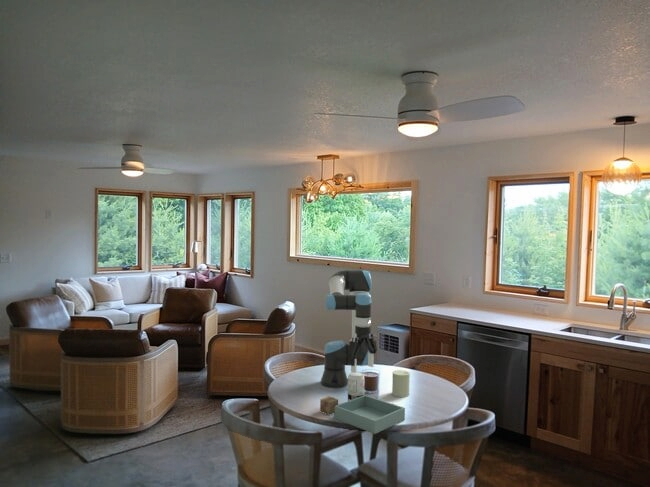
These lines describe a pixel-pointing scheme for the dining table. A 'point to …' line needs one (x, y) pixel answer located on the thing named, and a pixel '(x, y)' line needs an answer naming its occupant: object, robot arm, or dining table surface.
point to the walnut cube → (328, 405)
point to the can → (400, 383)
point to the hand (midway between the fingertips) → (362, 369)
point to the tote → (370, 413)
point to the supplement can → (355, 385)
